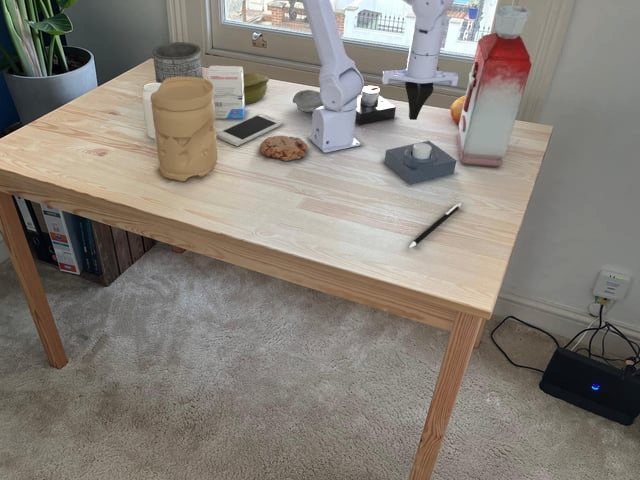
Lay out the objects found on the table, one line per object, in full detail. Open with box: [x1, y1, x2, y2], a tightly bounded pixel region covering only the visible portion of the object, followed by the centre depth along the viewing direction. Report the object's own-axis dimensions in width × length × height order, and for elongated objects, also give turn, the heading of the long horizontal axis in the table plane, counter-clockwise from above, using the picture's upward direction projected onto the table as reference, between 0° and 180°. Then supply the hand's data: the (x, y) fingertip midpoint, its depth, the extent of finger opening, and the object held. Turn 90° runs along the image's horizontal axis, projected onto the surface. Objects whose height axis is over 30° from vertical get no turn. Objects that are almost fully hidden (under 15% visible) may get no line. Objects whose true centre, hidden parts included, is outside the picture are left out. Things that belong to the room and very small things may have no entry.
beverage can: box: [141, 82, 162, 141], centre depth 133 cm, size 6×6×12 cm
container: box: [151, 76, 219, 182], centre depth 119 cm, size 13×13×18 cm
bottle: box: [456, 5, 533, 168], centre depth 119 cm, size 14×10×30 cm
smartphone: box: [216, 113, 282, 147], centre depth 138 cm, size 7×15×1 cm, turn 136°
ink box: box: [205, 65, 246, 120], centre depth 142 cm, size 9×5×12 cm, turn 84°
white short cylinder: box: [412, 142, 432, 159], centre depth 118 cm, size 4×4×2 cm
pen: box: [408, 203, 462, 249], centre depth 107 cm, size 1×19×1 cm, turn 137°
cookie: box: [259, 135, 308, 162], centre depth 129 cm, size 10×11×3 cm
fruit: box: [449, 94, 466, 126], centre depth 138 cm, size 8×8×8 cm
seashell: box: [292, 89, 324, 113], centre depth 145 cm, size 12×8×5 cm
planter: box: [152, 41, 204, 83], centre depth 150 cm, size 12×12×13 cm
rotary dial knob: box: [360, 85, 381, 107], centre depth 142 cm, size 4×4×4 cm
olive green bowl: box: [243, 72, 270, 104], centre depth 151 cm, size 11×12×7 cm
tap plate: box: [355, 95, 397, 126], centre depth 144 cm, size 10×9×3 cm
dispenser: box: [383, 140, 457, 185], centre depth 122 cm, size 11×11×5 cm
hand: (412, 117), depth 120 cm, fingers closed
